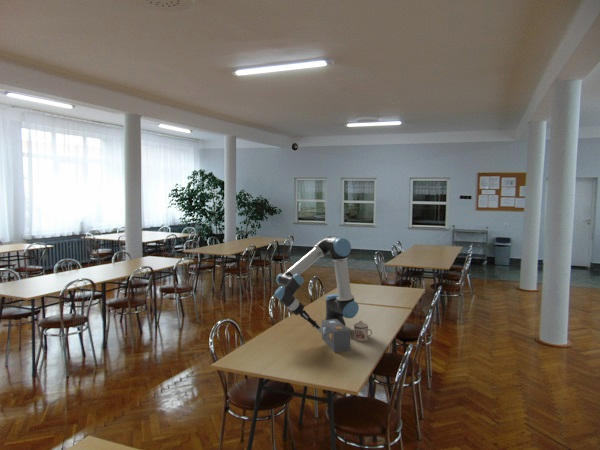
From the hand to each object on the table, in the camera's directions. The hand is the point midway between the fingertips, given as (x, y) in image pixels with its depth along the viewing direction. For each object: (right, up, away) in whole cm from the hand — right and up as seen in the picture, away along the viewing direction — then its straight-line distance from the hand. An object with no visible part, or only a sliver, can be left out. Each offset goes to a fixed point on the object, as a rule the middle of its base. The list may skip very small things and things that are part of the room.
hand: (321, 330), depth 261 cm
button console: (+8, -7, -4) cm, 12 cm away
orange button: (+6, -3, -11) cm, 13 cm away
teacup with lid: (+26, -7, +5) cm, 28 cm away
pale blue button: (+3, -2, +1) cm, 4 cm away
